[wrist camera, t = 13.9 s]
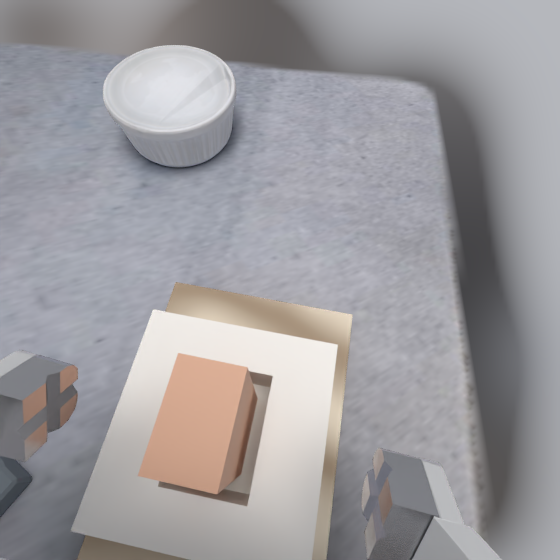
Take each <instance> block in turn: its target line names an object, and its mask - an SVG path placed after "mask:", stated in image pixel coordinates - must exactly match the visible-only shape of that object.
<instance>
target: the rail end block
mask: <svg viewBox="0 0 560 560" xmlns="http://www.w3.org/2000/svg"><path fill="white" fill-rule="evenodd" d="M257 399H258V398H257V395H256V392H255V389H254V386H253V383H252V380H251V376H250V373H249V370H248V367H244V366H239V365H234V364H229V363H225V362H220V361H215V360H210V359H205V358H200V357H196V356H191V355H186V354H181V353H178V355H177V358H176V361H175V364H174V367H173V370H172V373H171V376H170V379H169V382H168V385H167V388H166V391H165V394H164V397H163V401H162V404H161V407H160V410H159V413H158V416H157V419H156V422H155V425H154V428H153V431H152V434H151V437H150V440H149V443H148V446H147V449H146V452H145V455H144V458H143V461H142V464H141V467H140V470H139V473H138V476H140V477H144V478H149V479H153V480H157V481H161V482H166V483H170V484H174V485H178V486H183V487H187V488H191V489H196V490H200V491H204V492H208V493H213V494H219V493H220V492H221V491H222V490H223V489H224V488H226V487H227V486H228V485H229V484H230V483H231V482H233V481H234V480H235V479H236V478H237V477H238V476H240V475H241V473H242V468H243V464H244V459H245V454H246V450H247V445H248V441H249V436H250V431H251V427H252V422H253V417H254V413H255V408H256V404H257Z"/></svg>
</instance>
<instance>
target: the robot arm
mask: <svg viewBox="0 0 560 560" xmlns="http://www.w3.org/2000/svg"><path fill="white" fill-rule="evenodd" d="M77 379H78V368H77V367H75V366H74V365H72V364H68V363H65V362H62V361H58V360H55V359H52V358H48V357H45V356H42V355H37V354H34V353H30V352H27V351H23V350H22V351H15V352H14V353H12V354H10V355H8V356H7V357H5V358H3V359H1V360H0V456H3V457H7V458H11V459H15V460H19V461H23V462H26V461H27V460H28V459H29V458H30V457H31V456H32V455H33V454H34V453H35V452H36V451H37V450H38V449H39V448H40V447H41V446H42V445H43V444H44V443H45V442H47V436H48V433H49V432H52V431H54V430H57V429H59V428H61V427H62V426H63V425H64V424H65V423H66V422H67V421H68V420H69V418H70V416H71V415H72V413H73V411H74V410H75V407H76V403H77V394H78V393H77V391H76V389H75V388H74V386H73V383H74V382H75V381H76V380H77ZM373 466H374V469H372V470H370V471H369V472H367V475H366V477H365V480H364V484H363V490H362V513H363V515H364V516H365V518H366V519H367V521H368V524H367V526H366V529H365V531H364V534H365V543H366V553H367V560H502V559H501V558H500V557H499V556H498V555H497V554H496V553H495V552H494V551H493V550H492V549H491V547H490V546H489V545H488V544H487V543H486V542H485V541H484V540H483V539H482V538H481V537H480V536H479V535H478V533H477V532H476V531H475V530H474V529H473V528H472V527H469V526H466V525H465V524H464V521H463V519H462V516H461V514H460V511H459V508H458V506H457V503H456V501H455V498H454V496H453V493H452V490H451V488H450V485H449V483H448V480H447V478H446V475H445V473H444V470H443V467H442V466H441V465H440V464H439V462H434V461H430V460H426V459H422V458H416V457H413V456H409V455H405V454H401V453H398V452H394V451H390V450H386V449H382V448H378V449H377V450H376V452H375V454H374V457H373ZM0 560H7V559H4V558H1V557H0Z"/></svg>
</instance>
